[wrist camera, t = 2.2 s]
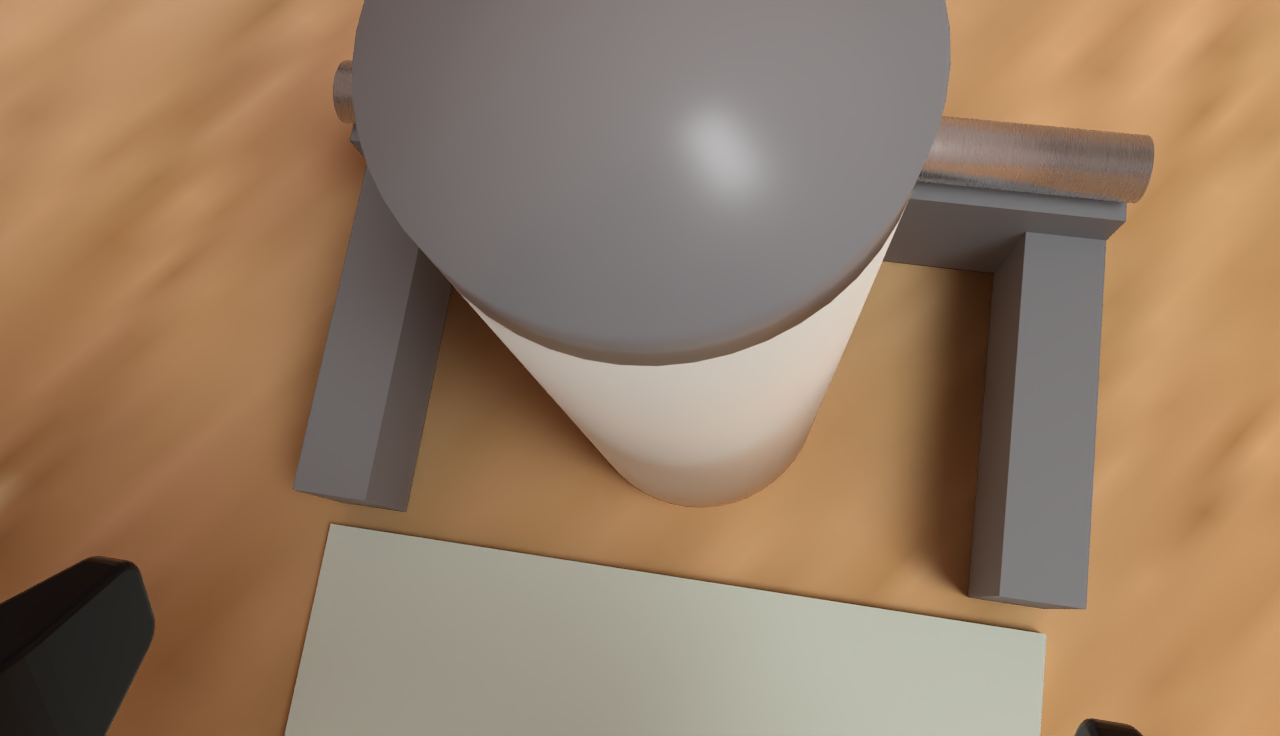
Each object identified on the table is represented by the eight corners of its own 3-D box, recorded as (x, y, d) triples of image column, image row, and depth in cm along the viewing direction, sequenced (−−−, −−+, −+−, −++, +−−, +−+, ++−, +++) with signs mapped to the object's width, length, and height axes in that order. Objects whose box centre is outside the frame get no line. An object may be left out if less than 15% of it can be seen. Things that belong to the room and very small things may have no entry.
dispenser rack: (1044, 608, 20) (1134, 609, 16) (341, 502, 22) (238, 475, 17) (1069, 216, 22) (1155, 115, 17) (418, 148, 24) (343, 41, 19)
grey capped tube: (855, 450, 21) (1066, 177, 8) (640, 544, 21) (473, 438, 8) (756, 249, 23) (788, -290, 9) (552, 338, 22) (276, -67, 9)
